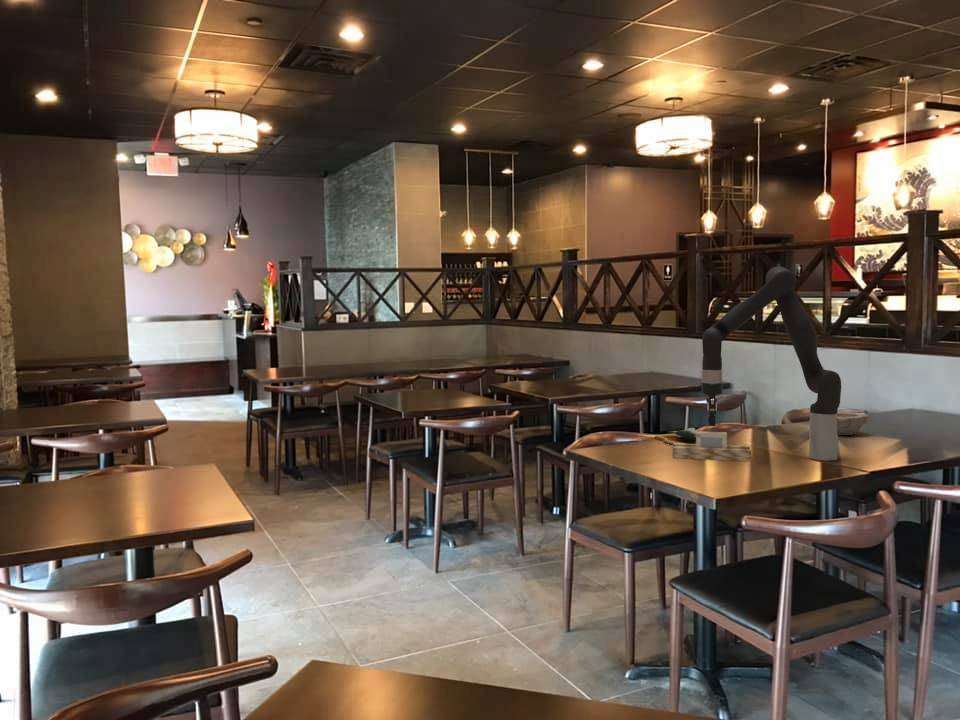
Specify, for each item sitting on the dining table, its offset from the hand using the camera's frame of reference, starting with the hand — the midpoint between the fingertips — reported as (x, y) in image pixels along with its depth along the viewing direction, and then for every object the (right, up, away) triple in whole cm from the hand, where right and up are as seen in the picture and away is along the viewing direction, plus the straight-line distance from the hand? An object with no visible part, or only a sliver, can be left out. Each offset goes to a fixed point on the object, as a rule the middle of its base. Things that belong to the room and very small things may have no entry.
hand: (711, 424), depth 283 cm
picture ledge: (0, -13, +1) cm, 13 cm away
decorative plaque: (-1, -11, +29) cm, 31 cm away
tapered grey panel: (0, -11, +1) cm, 11 cm away
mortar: (+72, -9, +46) cm, 86 cm away
